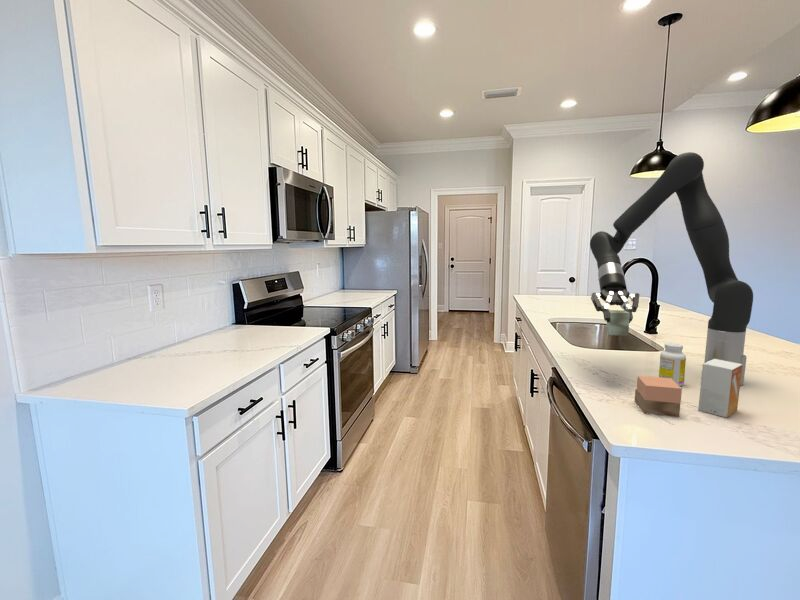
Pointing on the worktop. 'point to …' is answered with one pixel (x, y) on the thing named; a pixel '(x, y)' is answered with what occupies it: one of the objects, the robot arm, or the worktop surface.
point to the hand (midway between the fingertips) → (619, 321)
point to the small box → (720, 387)
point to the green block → (618, 323)
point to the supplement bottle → (673, 363)
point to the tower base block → (657, 406)
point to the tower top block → (659, 389)
